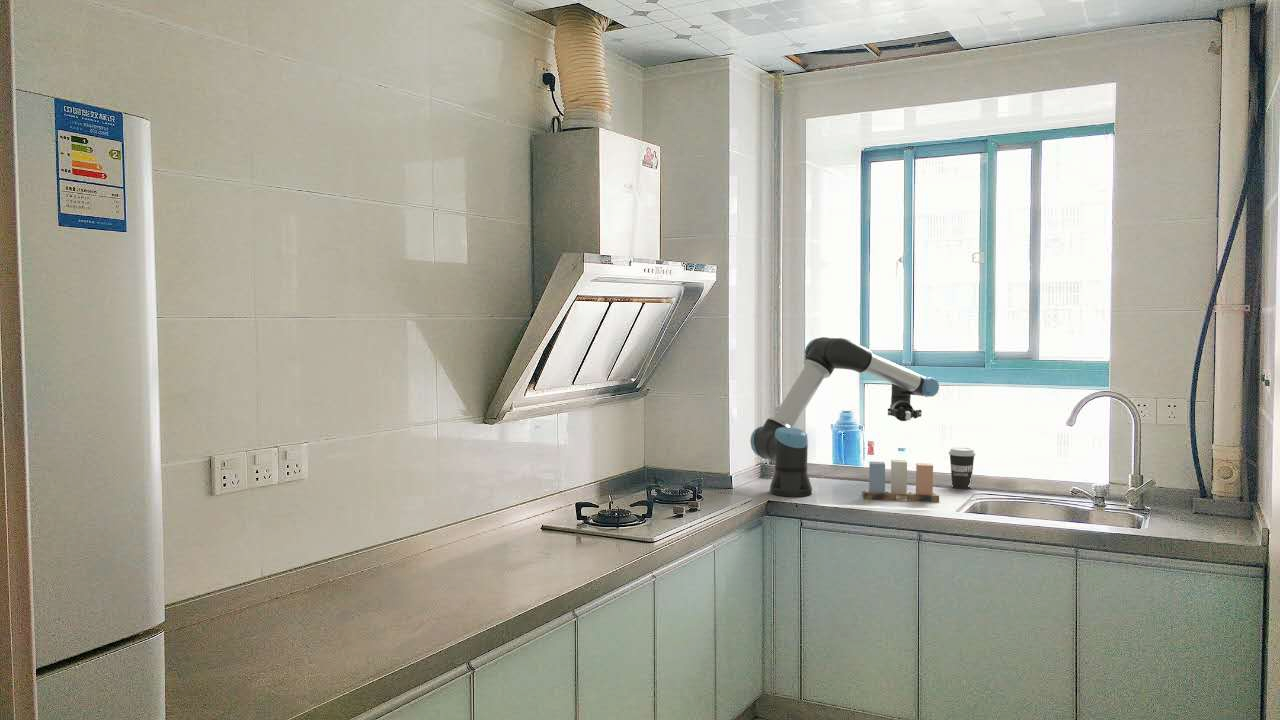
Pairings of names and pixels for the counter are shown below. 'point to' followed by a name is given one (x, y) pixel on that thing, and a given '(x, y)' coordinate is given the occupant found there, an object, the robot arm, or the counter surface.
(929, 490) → the brown tall block
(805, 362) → the robot arm
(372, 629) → the counter surface
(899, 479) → the key
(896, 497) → the brown wooden flat board
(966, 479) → the coffee cup
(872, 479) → the blue-grey tall block
